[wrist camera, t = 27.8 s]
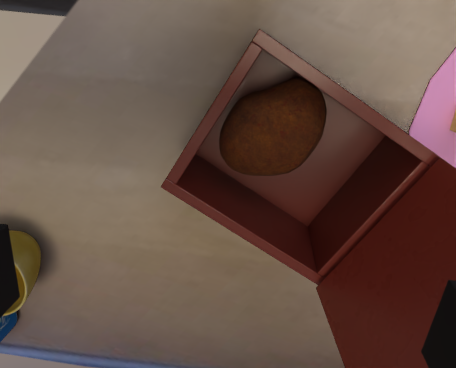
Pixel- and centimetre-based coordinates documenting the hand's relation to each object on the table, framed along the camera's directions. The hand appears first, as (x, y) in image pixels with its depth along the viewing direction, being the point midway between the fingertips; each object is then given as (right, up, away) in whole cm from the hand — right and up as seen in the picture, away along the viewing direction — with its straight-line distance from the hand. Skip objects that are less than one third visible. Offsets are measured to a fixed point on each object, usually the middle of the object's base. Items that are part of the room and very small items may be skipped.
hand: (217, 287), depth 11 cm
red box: (+7, +8, +28) cm, 30 cm away
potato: (+6, +7, +25) cm, 27 cm away
